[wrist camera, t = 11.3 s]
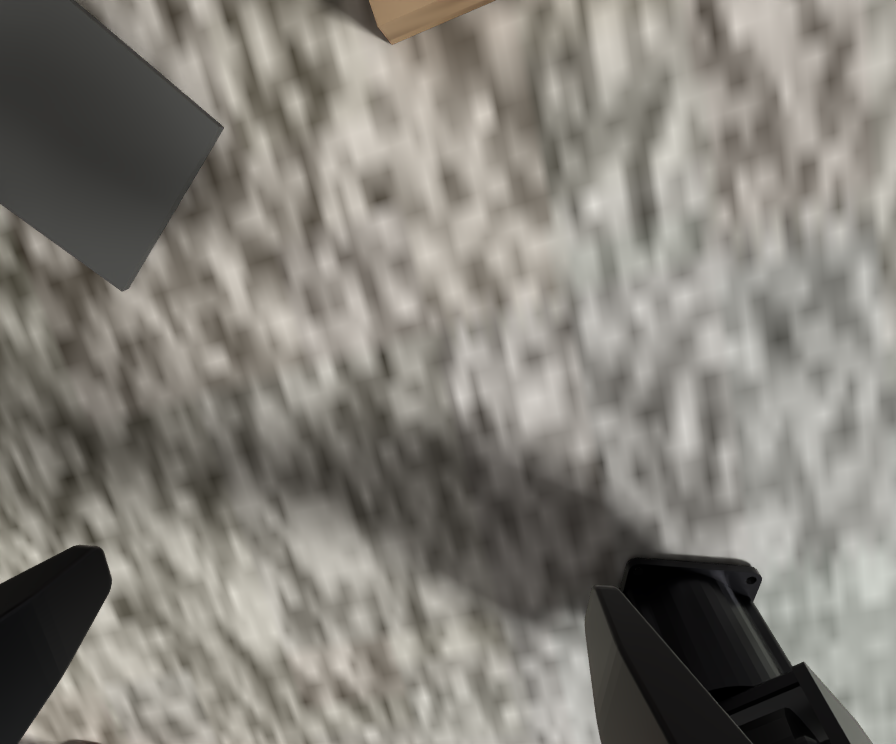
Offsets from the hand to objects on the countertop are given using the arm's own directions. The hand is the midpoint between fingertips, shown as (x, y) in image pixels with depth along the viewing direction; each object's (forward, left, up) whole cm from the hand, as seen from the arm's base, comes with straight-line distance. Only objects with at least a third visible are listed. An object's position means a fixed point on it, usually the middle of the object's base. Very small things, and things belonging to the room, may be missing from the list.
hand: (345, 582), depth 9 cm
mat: (+13, -7, -13) cm, 20 cm away
